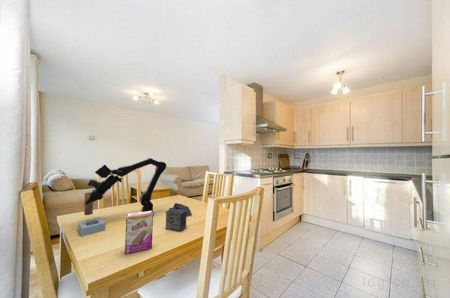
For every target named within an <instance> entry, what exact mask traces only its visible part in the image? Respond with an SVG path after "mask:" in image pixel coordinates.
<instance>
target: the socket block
mask: <svg viewBox="0 0 450 298" xmlns="http://www.w3.org/2000/svg"><path fill="white" fill-rule="evenodd" d="M77 231H78V232H79V234H80V236H81V237H85V236H89V235H91V234H92V235H93V234H97V233H100V232H103V231H106V222H105V221H104V219H102V218H101V217H100V218H95V219H91V220H87V221H82V222H78V230H77Z"/></svg>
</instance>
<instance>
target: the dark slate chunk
mask: <svg viewBox="0 0 450 298" xmlns="http://www.w3.org/2000/svg"><path fill="white" fill-rule="evenodd" d="M170 209H180V210H187V211H186V217H191V216H193V214H192V212H191V209H190V207H189V206H188V205H184V204H183V203H177V202H175V203H174V204H173V207H169V208H168V210H170Z"/></svg>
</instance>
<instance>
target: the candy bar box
mask: <svg viewBox="0 0 450 298" xmlns="http://www.w3.org/2000/svg"><path fill="white" fill-rule="evenodd" d="M153 213H154V211H153V212H152V211H146V212H142V211H141V212H140V211H139V212H132V213H131V212H130V213H126V217H125V218H126V220H125V239H124V255H128V254H134V253H138V252H141V251H142V252H143V251H147V250H150V249H152V248H153V231H154V229H153V226H154V225H153V224H154V214H153Z"/></svg>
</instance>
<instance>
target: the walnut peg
mask: <svg viewBox="0 0 450 298" xmlns="http://www.w3.org/2000/svg"><path fill="white" fill-rule="evenodd" d="M91 192H92V191H90V192H85V193H84V212H83V215H84V216H90V215H93V213H94V212H93V211H94V202H92V203H89V204H87V205H85V203H86V201H87V200H88V199H89V198H90V197H91Z"/></svg>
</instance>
